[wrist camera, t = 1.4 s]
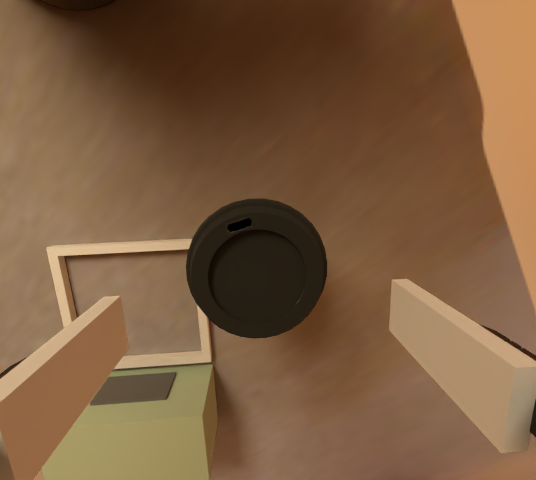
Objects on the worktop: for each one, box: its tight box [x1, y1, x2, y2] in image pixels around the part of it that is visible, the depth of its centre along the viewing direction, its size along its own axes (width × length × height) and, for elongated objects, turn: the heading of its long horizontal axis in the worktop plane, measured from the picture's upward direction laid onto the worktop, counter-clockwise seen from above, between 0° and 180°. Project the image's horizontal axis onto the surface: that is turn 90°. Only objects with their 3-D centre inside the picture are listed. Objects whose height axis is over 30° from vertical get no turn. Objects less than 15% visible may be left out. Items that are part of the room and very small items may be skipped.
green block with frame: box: [42, 238, 218, 480], centre depth 31 cm, size 25×16×8 cm, turn 2°
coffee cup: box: [186, 199, 327, 338], centre depth 25 cm, size 10×10×15 cm
